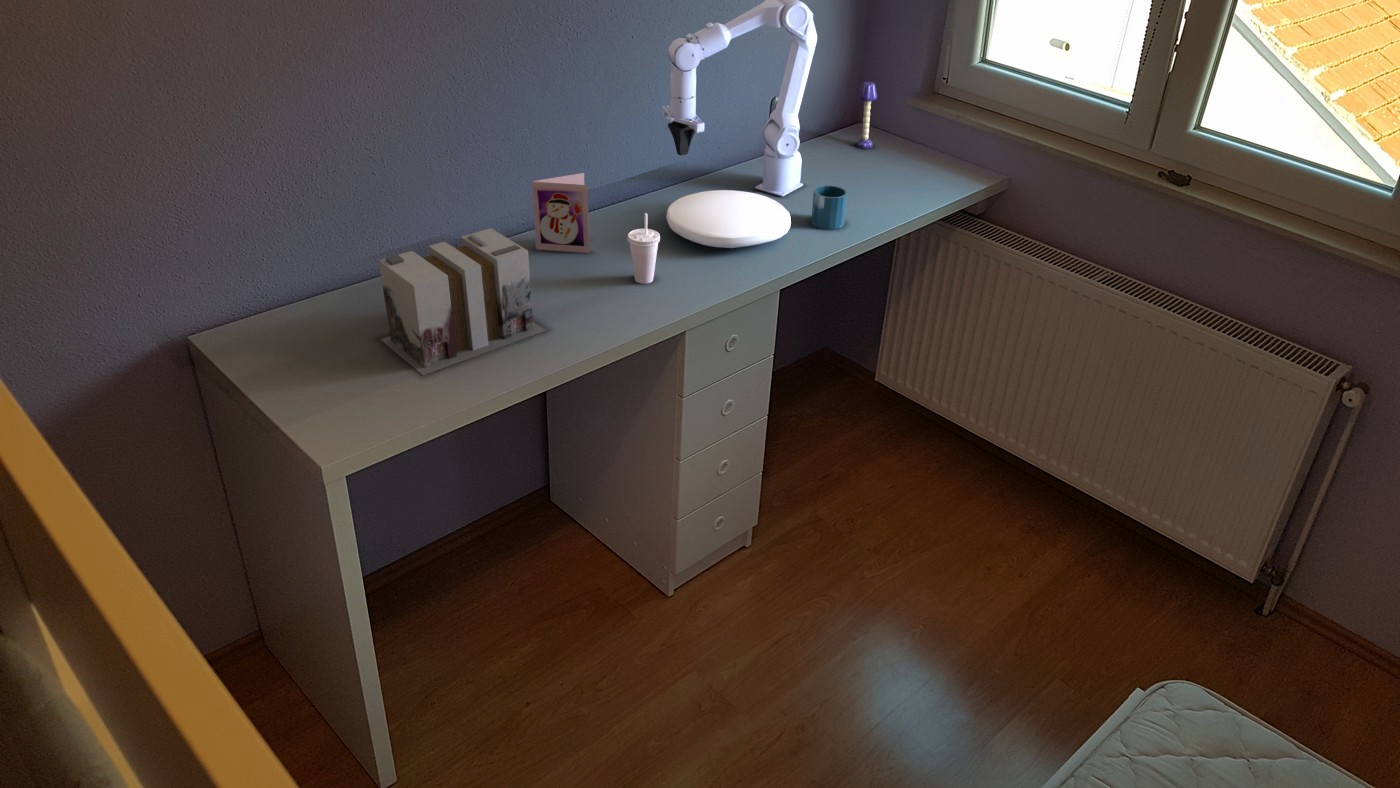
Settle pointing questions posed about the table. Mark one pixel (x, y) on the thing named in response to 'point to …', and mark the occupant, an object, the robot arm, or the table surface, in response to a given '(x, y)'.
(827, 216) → the teacup
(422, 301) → the model building
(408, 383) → the table surface
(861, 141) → the toy lamp
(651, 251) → the smoothie
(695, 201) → the white round cushion
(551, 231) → the greeting card
